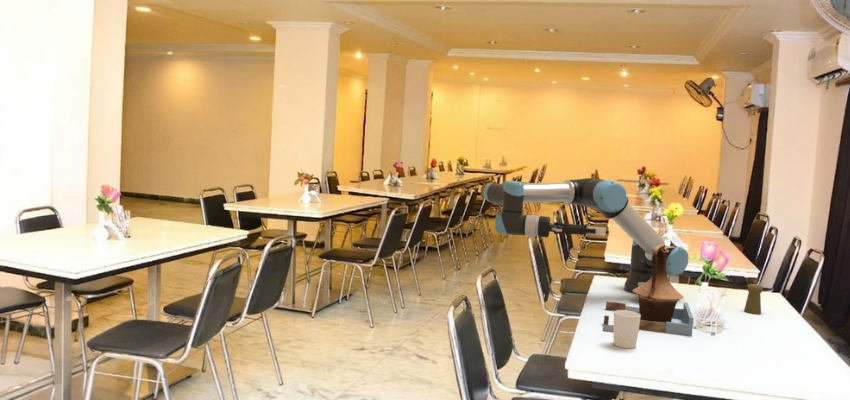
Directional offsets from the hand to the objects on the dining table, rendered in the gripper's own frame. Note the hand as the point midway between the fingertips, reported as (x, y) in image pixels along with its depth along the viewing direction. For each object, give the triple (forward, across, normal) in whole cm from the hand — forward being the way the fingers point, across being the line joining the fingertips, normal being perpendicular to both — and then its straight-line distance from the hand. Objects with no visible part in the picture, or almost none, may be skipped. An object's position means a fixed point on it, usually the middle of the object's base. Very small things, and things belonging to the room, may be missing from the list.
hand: (605, 231), depth 249 cm
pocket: (+26, 0, -31) cm, 40 cm away
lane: (+12, 0, -30) cm, 33 cm away
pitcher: (+19, -1, -31) cm, 36 cm away
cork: (+56, -38, -32) cm, 75 cm away
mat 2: (+13, -17, -31) cm, 37 cm away
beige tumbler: (+9, +34, -30) cm, 47 cm away
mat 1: (+7, +16, -30) cm, 35 cm away
